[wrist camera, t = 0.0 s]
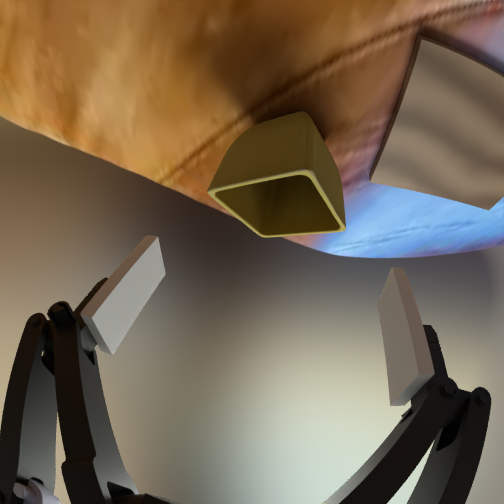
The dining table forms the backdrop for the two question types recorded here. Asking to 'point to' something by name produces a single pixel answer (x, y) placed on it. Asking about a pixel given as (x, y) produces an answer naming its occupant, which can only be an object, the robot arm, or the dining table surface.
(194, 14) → the dining table surface
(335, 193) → the flower pot
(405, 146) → the walnut board
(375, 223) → the dining table surface
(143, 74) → the dining table surface
